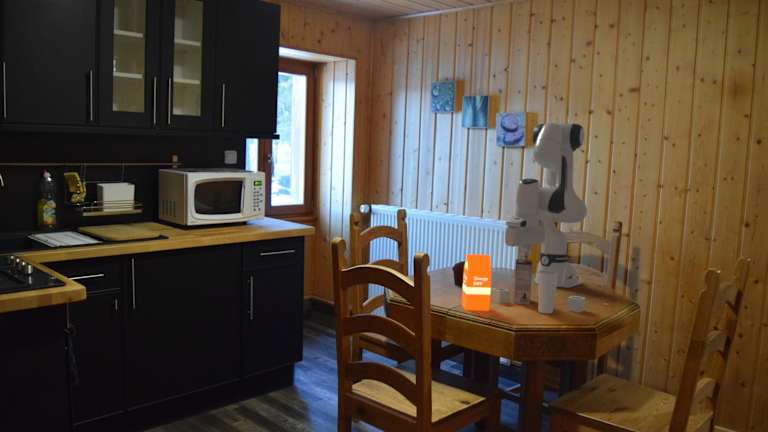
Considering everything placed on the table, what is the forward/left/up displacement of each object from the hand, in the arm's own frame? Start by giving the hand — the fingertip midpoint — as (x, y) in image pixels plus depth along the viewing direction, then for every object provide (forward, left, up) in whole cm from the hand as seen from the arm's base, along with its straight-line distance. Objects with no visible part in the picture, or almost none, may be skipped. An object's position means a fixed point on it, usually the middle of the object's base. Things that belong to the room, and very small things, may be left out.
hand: (524, 256), depth 253 cm
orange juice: (+24, -2, -18) cm, 30 cm away
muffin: (-3, -34, -18) cm, 39 cm away
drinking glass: (+6, +16, -18) cm, 25 cm away
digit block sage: (+8, -4, -18) cm, 20 cm away
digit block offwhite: (-7, +20, -18) cm, 28 cm away
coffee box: (0, 0, -18) cm, 18 cm away
